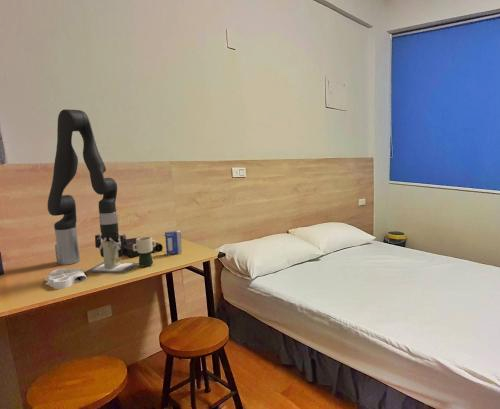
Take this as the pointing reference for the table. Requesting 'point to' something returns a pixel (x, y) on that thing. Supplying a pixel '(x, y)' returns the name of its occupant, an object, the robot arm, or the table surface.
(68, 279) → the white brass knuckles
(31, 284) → the table surface
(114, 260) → the skincare box
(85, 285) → the table surface
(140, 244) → the character mug
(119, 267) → the notepad
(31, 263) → the table surface
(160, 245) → the diary
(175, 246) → the walkman
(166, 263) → the table surface
